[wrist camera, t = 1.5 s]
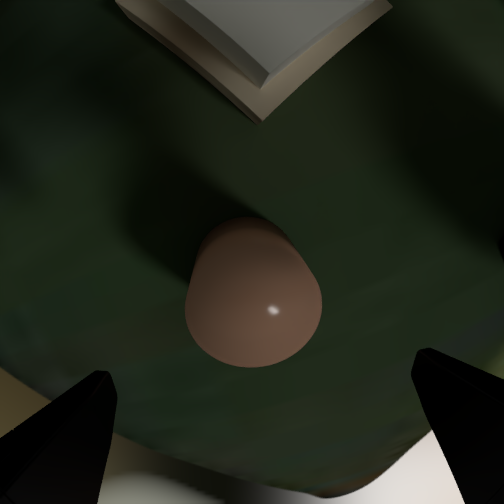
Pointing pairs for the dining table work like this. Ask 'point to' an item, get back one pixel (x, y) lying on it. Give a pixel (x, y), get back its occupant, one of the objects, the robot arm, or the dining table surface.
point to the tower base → (226, 73)
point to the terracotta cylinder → (251, 295)
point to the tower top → (264, 29)
